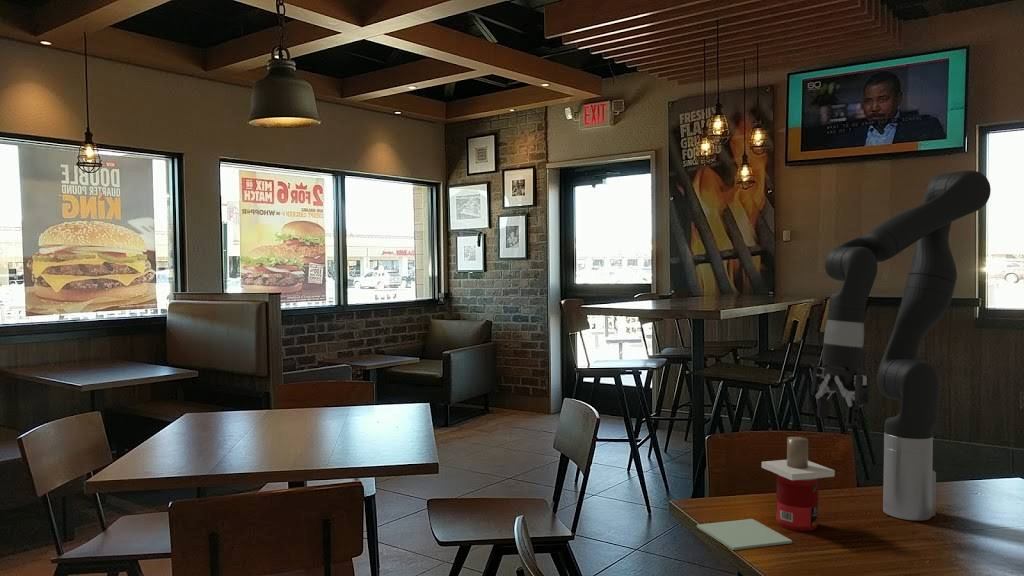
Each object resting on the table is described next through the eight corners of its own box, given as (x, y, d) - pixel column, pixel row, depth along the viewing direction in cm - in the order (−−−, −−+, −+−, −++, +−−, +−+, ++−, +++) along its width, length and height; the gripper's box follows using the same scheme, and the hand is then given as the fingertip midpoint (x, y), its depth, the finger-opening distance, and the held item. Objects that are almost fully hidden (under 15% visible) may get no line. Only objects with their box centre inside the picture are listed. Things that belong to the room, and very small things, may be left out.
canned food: (821, 532, 151) (821, 478, 150) (779, 529, 152) (779, 475, 152) (813, 520, 158) (814, 468, 158) (773, 517, 160) (774, 465, 159)
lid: (802, 463, 161) (802, 432, 161) (834, 476, 152) (835, 442, 151) (761, 467, 158) (761, 435, 158) (792, 480, 149) (792, 446, 149)
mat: (752, 521, 157) (752, 518, 157) (792, 543, 145) (792, 540, 145) (696, 527, 154) (696, 524, 154) (732, 550, 141) (732, 547, 141)
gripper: (884, 348, 151) (876, 429, 151) (834, 341, 164) (827, 415, 164) (853, 345, 148) (845, 427, 148) (805, 338, 162) (798, 414, 162)
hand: (836, 421), depth 156 cm, fingers open, 8 cm apart
